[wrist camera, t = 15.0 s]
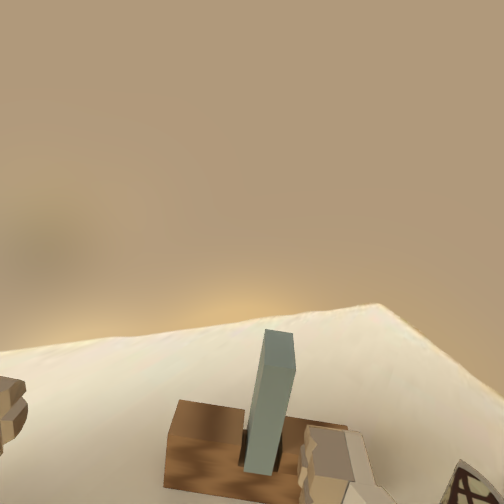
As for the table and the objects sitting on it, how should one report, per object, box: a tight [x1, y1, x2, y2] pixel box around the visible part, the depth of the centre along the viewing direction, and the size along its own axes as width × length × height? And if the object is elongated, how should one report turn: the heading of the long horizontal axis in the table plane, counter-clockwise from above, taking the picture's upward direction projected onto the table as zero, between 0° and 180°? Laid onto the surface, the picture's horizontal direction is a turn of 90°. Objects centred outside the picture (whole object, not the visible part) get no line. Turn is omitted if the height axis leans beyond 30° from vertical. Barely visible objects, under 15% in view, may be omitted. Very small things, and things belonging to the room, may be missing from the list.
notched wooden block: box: [163, 400, 348, 504], centre depth 42 cm, size 20×5×8 cm, turn 86°
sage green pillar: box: [244, 329, 296, 476], centre depth 39 cm, size 3×6×14 cm, turn 177°
